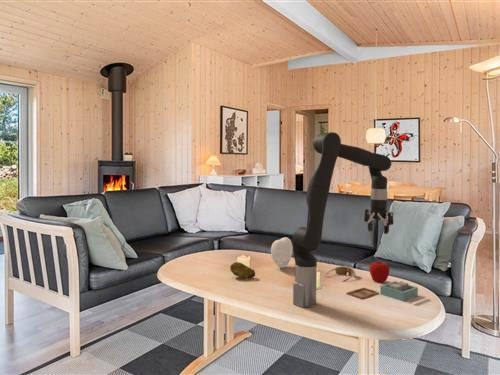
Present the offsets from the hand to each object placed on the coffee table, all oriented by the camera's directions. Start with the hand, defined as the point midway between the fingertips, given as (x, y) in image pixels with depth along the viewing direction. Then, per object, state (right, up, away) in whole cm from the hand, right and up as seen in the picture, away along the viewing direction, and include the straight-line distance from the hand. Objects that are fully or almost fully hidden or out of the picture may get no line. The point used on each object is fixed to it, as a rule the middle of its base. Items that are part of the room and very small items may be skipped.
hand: (378, 232), depth 185 cm
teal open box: (+7, -29, -6) cm, 30 cm away
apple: (+5, -27, +15) cm, 32 cm away
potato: (-65, -27, +22) cm, 73 cm away
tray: (-9, -29, -5) cm, 30 cm away
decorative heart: (-42, -26, +41) cm, 64 cm away
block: (+9, -28, -5) cm, 30 cm away
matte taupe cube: (+5, -28, -8) cm, 30 cm away
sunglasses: (-13, -27, +22) cm, 37 cm away
